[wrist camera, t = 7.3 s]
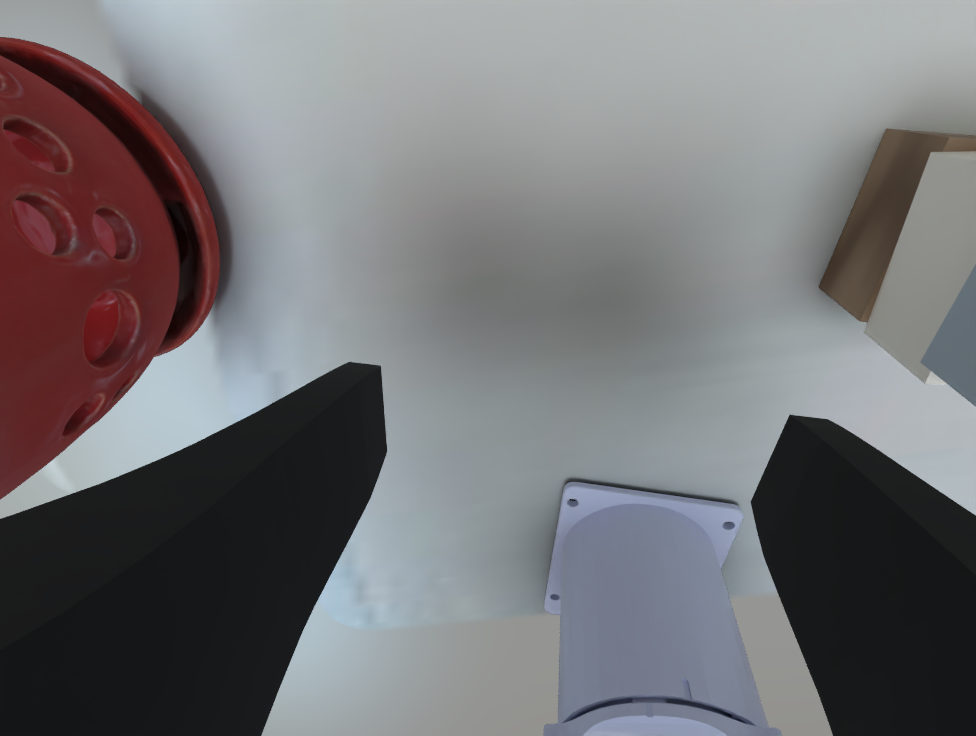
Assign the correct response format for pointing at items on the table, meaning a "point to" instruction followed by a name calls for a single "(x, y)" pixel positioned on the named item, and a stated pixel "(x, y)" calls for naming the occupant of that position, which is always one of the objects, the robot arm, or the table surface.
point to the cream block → (928, 262)
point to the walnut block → (882, 216)
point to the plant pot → (87, 251)
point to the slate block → (957, 344)
